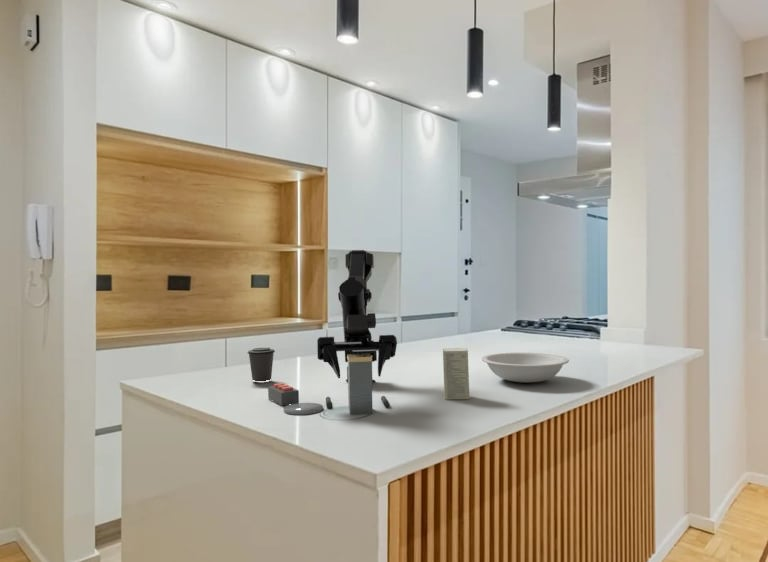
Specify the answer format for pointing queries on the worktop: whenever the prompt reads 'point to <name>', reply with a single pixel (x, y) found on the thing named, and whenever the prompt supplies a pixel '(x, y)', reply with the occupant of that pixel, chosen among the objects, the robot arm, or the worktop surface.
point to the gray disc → (303, 408)
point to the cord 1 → (328, 402)
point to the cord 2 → (385, 401)
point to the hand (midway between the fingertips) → (359, 376)
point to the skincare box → (456, 373)
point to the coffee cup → (261, 363)
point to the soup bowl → (525, 366)
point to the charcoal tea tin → (360, 383)
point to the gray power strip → (283, 394)
